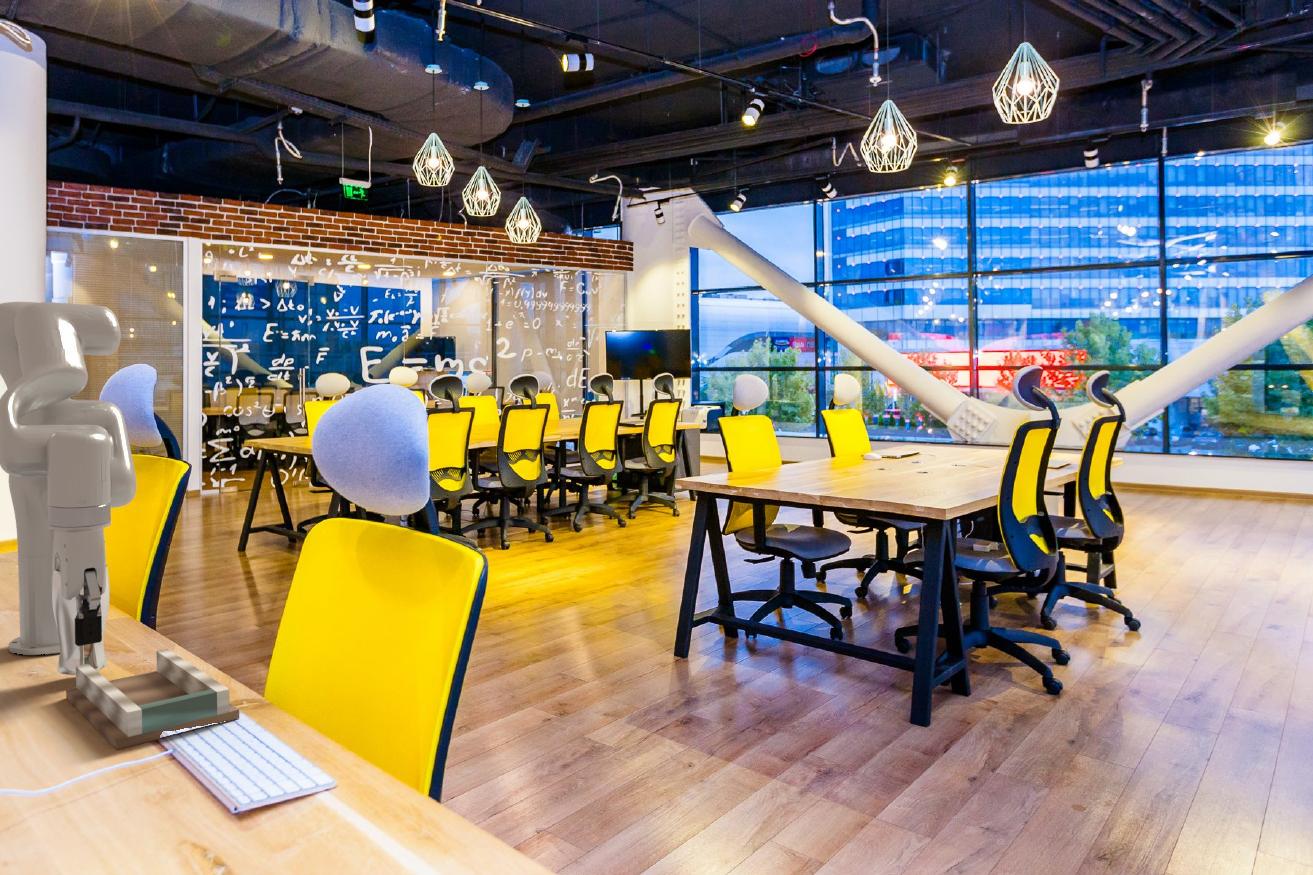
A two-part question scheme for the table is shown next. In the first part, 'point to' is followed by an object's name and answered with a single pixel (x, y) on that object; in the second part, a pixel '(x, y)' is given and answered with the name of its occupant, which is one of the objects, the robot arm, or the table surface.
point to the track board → (150, 701)
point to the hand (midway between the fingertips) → (81, 636)
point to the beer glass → (66, 630)
